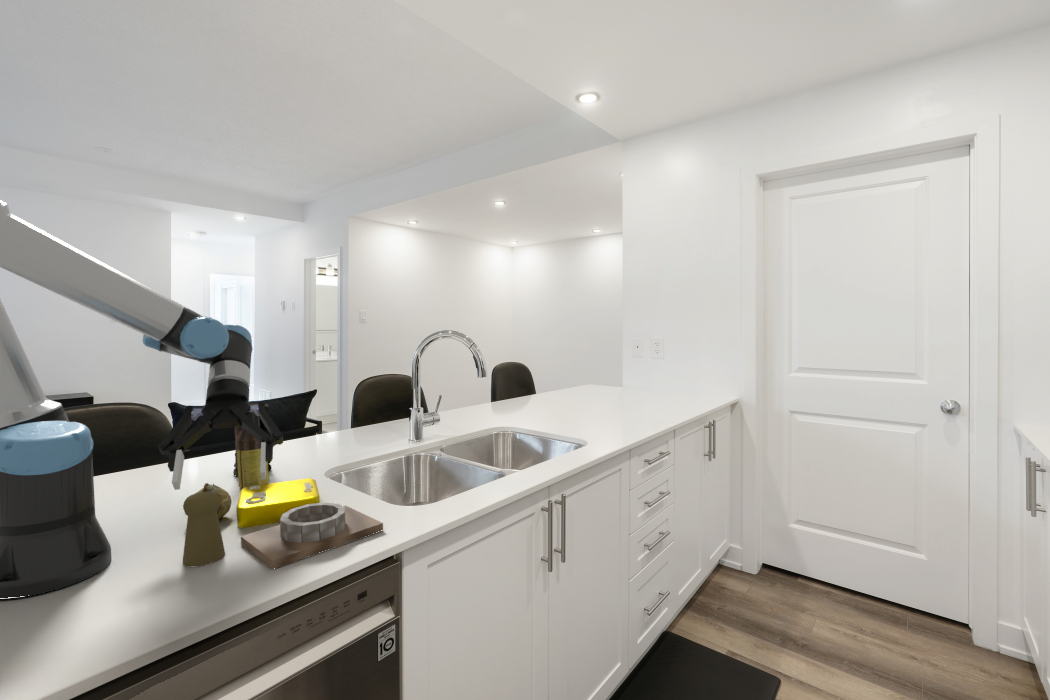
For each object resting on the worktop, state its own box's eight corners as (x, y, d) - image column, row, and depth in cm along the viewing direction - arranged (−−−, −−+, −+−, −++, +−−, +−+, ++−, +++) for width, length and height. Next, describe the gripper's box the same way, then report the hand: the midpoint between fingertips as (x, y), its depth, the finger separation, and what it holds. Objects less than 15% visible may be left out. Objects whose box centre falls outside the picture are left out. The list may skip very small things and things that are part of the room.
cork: (233, 550, 86) (231, 488, 86) (207, 567, 80) (205, 500, 79) (200, 549, 87) (198, 487, 86) (173, 565, 81) (170, 499, 80)
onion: (242, 514, 103) (240, 476, 102) (207, 530, 95) (206, 488, 95) (213, 511, 105) (211, 473, 104) (177, 526, 97) (175, 485, 97)
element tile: (320, 517, 102) (320, 494, 102) (236, 531, 95) (235, 507, 95) (315, 495, 115) (315, 475, 115) (241, 506, 108) (240, 484, 108)
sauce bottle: (275, 490, 118) (272, 407, 117) (251, 498, 112) (248, 411, 111) (256, 487, 120) (253, 405, 119) (232, 495, 114) (228, 409, 113)
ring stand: (272, 569, 79) (271, 542, 79) (241, 544, 88) (240, 519, 88) (383, 530, 94) (382, 507, 94) (346, 512, 103) (345, 491, 103)
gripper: (295, 394, 110) (296, 481, 98) (159, 402, 100) (141, 500, 87) (294, 373, 105) (295, 462, 92) (151, 379, 95) (130, 480, 82)
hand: (220, 481), depth 90 cm, fingers open, 13 cm apart
